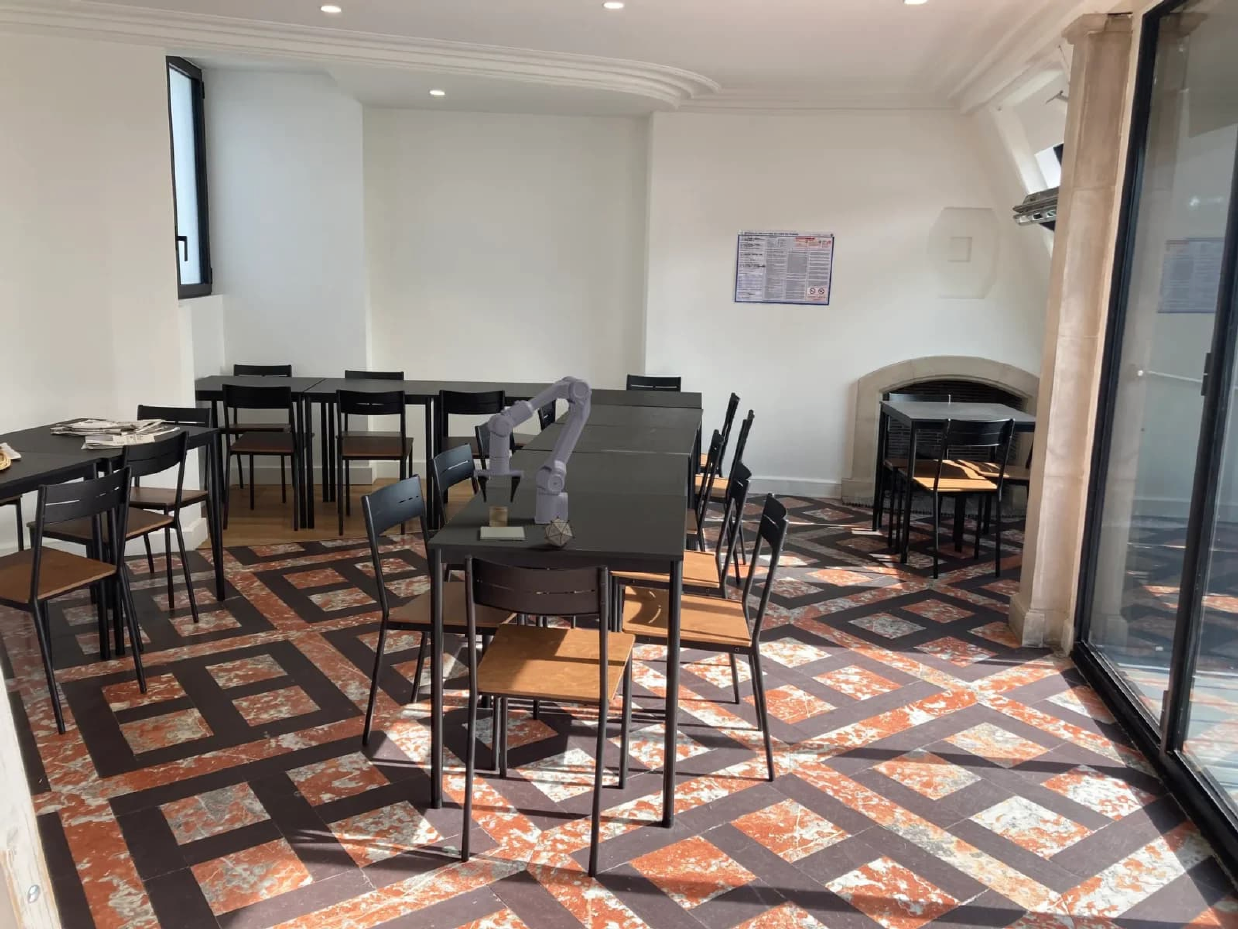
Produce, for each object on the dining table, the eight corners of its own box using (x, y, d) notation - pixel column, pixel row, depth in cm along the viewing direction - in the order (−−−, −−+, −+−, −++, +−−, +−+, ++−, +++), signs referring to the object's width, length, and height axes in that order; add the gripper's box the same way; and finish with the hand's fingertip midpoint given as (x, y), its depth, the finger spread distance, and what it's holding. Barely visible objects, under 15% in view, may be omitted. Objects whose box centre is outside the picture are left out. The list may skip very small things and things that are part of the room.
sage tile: (522, 530, 272) (522, 527, 272) (524, 540, 262) (524, 537, 261) (480, 530, 271) (480, 526, 270) (480, 540, 260) (480, 536, 260)
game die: (553, 558, 259) (551, 524, 264) (581, 550, 257) (578, 516, 261) (538, 548, 252) (535, 514, 256) (566, 541, 249) (563, 506, 253)
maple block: (506, 523, 280) (506, 506, 279) (506, 527, 275) (507, 511, 274) (489, 523, 279) (489, 506, 278) (489, 527, 274) (489, 510, 273)
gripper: (523, 453, 278) (522, 498, 281) (474, 452, 276) (473, 498, 279) (524, 458, 271) (523, 504, 274) (473, 457, 269) (473, 503, 272)
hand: (498, 501), depth 276 cm, fingers open, 7 cm apart
